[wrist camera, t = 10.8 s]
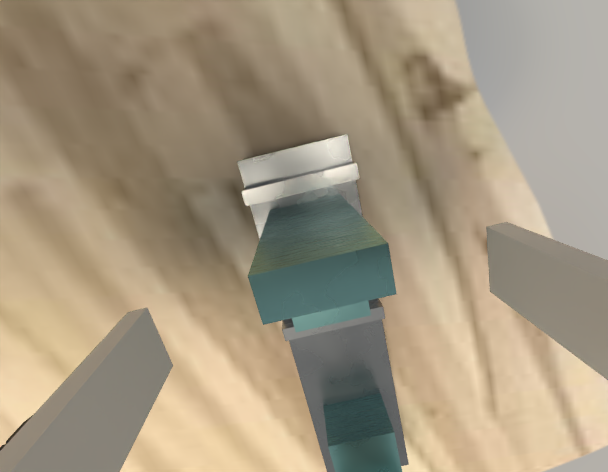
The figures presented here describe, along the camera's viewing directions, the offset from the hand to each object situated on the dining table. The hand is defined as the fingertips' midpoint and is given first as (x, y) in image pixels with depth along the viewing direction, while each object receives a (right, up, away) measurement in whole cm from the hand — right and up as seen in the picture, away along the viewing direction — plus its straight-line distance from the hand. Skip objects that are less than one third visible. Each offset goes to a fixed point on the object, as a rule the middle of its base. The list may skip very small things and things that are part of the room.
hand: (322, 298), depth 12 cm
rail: (+1, -4, +10) cm, 11 cm away
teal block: (0, +2, +6) cm, 6 cm away
